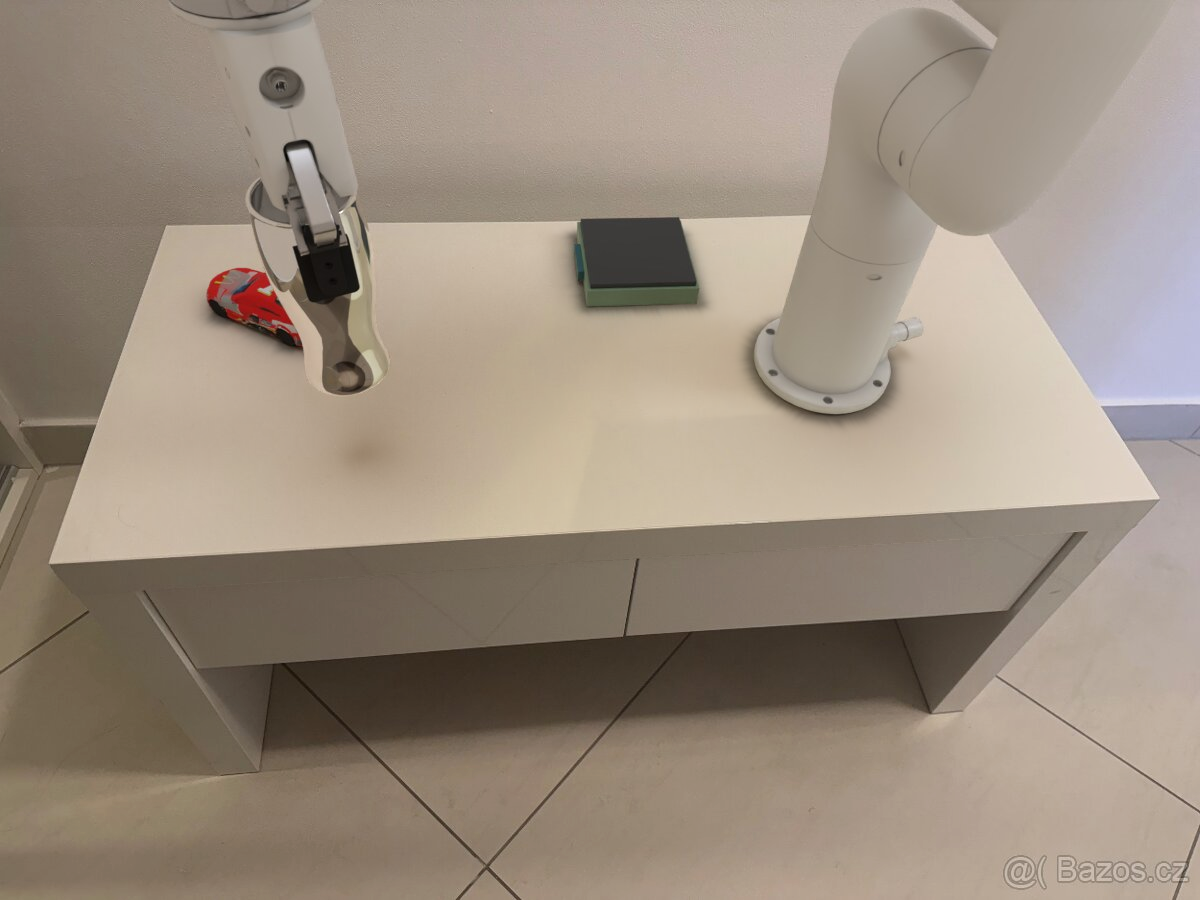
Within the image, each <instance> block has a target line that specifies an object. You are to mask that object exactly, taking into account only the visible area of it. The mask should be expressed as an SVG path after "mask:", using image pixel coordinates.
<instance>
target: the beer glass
mask: <svg viewBox="0 0 1200 900" xmlns="http://www.w3.org/2000/svg"><path fill="white" fill-rule="evenodd" d="M321 183H322V182H321ZM322 186H323V185H322ZM332 190H333V193H334V195H335V200H336V204H337V207H338V211H339V214H340V218H341V221H342V224H343V228H344V231H345V234H347V235H348V238H349V241H350V245H351V250H352V254H353V259H354V263H355V267H356V272H357V276H358V280H359V285H360V288H359V290H358V291H357V292H354V293H350V294H346V295H343V296H339V297H335V298H331V299H327V300H323V301H319V302H310V301H309V299H308V297H307V294H306V291H305V288H304V284H303V281H302V277H301V274H300V271H299V267H298V264H297V260H296V257H295V254H294V250H293V247H292V246H296V245H297V244H296V240H295V237H294V234H293V231H292V228H291V225H290V221H289V218H288V215H287V212H286V211H283V210H280V209H278V208H276V207H275V206H273V204H272V202H271V200H270V198H269V196H268V193H267V191H266V189H265V187H264V185H263V183H262V180H261V178H260V176H258V178H256V179H255V180H254V181H253V182H252V183H251V184H250V186H249V187H248V189H247V190H246V193H245V198H244V199H245V200H244V201H245V206H246V208H247V210H248V216H249V219H250V224H251V229H252V233H253V237H254V241H255V245H256V249H257V252H258V253H257V254H258V255H259V260H260V262H261V265H262V268H263V270H264V272H265V273H266V275H267V278H268V280H269V282H270V284H271V286H272V288H273V290H274V292H275V294H276V296H277V298H278V299H279V301H280V303H281V305H282V306H283V308H284V310H285V311H286V313H287V315H288V316H289V318H290V320H291V321H292V323H293V325H294V327H295V328H296V330H297V332H298V334H299V337H300V339H301V342H302V345H303V346H302V350H303V363H304V365H303V366H304V372H305V377H306V380H307V381H308V382H309V384H310V385H311V386H312V387H313V388H314V389H316V390H317V391H319V392H320V393H323V394H326V395H328V396H334V397H352V396H356V395H361V394H363V393H366V392H367V391H368V392H369V391H370V390H372V389H373V388H375V387H376V386H378V385H379V384H380V383H381V382H382V381H384V379H385V377H387V374H388V373H389V370H390V365H391V358H390V354H389V351H388V349H387V347H386V345H385V342H384V340H383V339H382V337H381V335H380V332H379V329H378V325H377V319H376V264H375V263H376V262H375V260H376V259H375V253H374V248H373V242H372V236H371V232H370V228H369V225H368V220H367V218H366V217H367V216H366V215H365V211H364V210H365V209H364V207H363V203H362V201H361V198H360V195H359V191H358V190H357V192H356V194H355V195H354V196H352V197H350V196H345V197H342V198H341V197H340V196H339V195H338V194H337V193H336V192H335V190H334V189H333V188H332ZM288 193H289V197H295V196H299V192H298V189H297V186H296V185H295V186H290V187H288ZM297 213H298V216H299V219H300V222H301V226H302V229H303V232H304V226H308V220H307V216H306V213H305V210H304V208H302V209H297Z"/></svg>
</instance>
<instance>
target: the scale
mask: <svg viewBox="0 0 1200 900" xmlns="http://www.w3.org/2000/svg"><path fill="white" fill-rule="evenodd" d="M573 256H574V257H573V258H574V265H575V271H576V278H577V281H578V282H581V281H582V284H583V292H584V298H585V305H586V307H618V306H619V307H621V306H655V305H657V306H659V305H691V304H695V305H696V304H697V303H698V298H699V292H700V285H699V281H698V279H697V275H696V270H695V266H694V264H693V260H692V256H691V253H690V249H689V245H688V242H687V237H686V234H685V231H684V227H683V223H682V220H681V219H680V217H679V216H673V217H671V216H669V217H668V216H666V217H665V216H664V217H663V216H661V217H660V216H659V217H606V218H605V217H604V218H603V217H601V218H594V217H593V218H580V221H577V222H576V243H574V244H573Z"/></svg>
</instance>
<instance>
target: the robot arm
mask: <svg viewBox="0 0 1200 900" xmlns="http://www.w3.org/2000/svg"><path fill="white" fill-rule="evenodd" d="M951 1H952V2H953V3H955V4H956V5H957V6H958V7H959V8H960V9H961V10H963V11H964V12H965V13H966V14H968V15H969V16H970V17H971V18H973V19H974V20H975V21H976V22H978V23H979V24H980V25H981V26H983V28H985V29H986V30H988V32H990V33H991V34H992V35H993V36H994V37H995V38H997V39H996V42H995V43H994V46H993V47H992V46H990V45H989V44H988V43H987V42H986V41H985V40H983V38H981V37H980V36H979V35H977V33H975V32H974V31H972V30H971V29H970V28H969V27H968V26H966V25H965V24H963V23H962V22H960V21H959V20H958V19H957V18H955V17H952V16H951V15H948V14H946V13H944V12H942V11H939V10H937V9H933V8H929V7H928V8H927V7H919V6H918V7H907V8H901V9H900V8H899V9H897V10H894V11H892V12H888V13H887V14H885V15H883V16H881V17H879V18H878V19H876V20H874V21H873V22H872V23H871V24H870V25H868V27H866V28H865V29H864V30H863V31H862V32H861V33H860V35H859V36H858V37H857V38H856V39H855V40H854V42H853V43H852V45H851V46H850V48H849V50H848V51H847V53H846V55H845V57H844V58H843V61H842V63H841V65H840V68H839V71H838V74H837V78H836V81H835V84H834V91H833V96H832V102H831V109H830V121H829V132H828V141H827V151H826V155H825V162H824V166H823V170H822V175H821V179H820V182H819V186H818V190H817V194H816V197H815V200H814V204H813V206H812V211H811V214H810V217H809V220H808V224H807V227H806V230H805V234H804V237H803V240H802V245H801V247H800V251H799V255H798V258H797V261H796V265H795V267H794V271H793V275H792V278H791V281H790V285H789V288H788V291H787V295H786V298H785V301H784V306H783V309H782V312H781V315H780V317H777V318H775V319H773V320H772V321H770V322H768V323H767V324H766V326H764V328H762V330H761V331H760V332H759V334H758V336H757V338H756V341H755V345H754V348H753V361H754V367H755V370H756V371H757V373H758V376H759V378H761V380H762V381H763V383H764V384H765V385H766V386H767V387H768V388H769V389H770V390H771V391H772V392H773V393H774V394H776V395H777V396H778V397H780V398H781V399H782V400H784V401H786V402H788V403H790V404H792V405H794V406H795V407H798V408H801V409H803V410H807V411H811V412H815V413H820V414H828V415H843V414H850V413H854V412H859V411H862V410H864V409H866V408H868V407H870V406H872V405H873V404H874V403H876V402H877V401H878V400H879V399H880V398H881V397H882V395H883V394H884V393H885V390H886V389H887V387H888V385H889V382H890V378H891V373H892V371H891V370H892V369H891V362H890V360H889V356H888V353H889V351H890V350H891V349H894V348H896V347H897V345H898V343H900V342H907V341H911V340H913V339H916V338H919V337H921V336H922V335H923V333H924V325H923V322H922V320H921V319H920V318H919V317H916V316H914V317H910V318H907V319H903V320H900V321H897V320H898V318H899V315H900V313H901V311H902V308H903V307H904V303H905V302H906V299H907V297H908V294H909V292H910V289H911V288H912V285H913V283H914V281H915V278H916V276H917V274H918V272H919V269H920V267H921V264H922V263H923V260H924V258H925V256H926V253H927V251H928V249H929V247H930V244H931V243H932V240H933V237H934V235H935V232H936V230H937V227H938V226H939V227H940V228H942V229H944V230H946V231H948V232H949V233H952V234H956V235H959V236H964V237H979V236H980V237H981V236H985V235H989V234H992V233H995V232H998V231H1000V230H1001V229H1004V228H1006V227H1007V226H1010V225H1011V224H1013V223H1014V222H1015V221H1017V220H1018V219H1020V218H1021V217H1022V216H1024V215H1026V213H1027V212H1029V211H1030V210H1031V209H1032V208H1033V207H1034V206H1035V205H1036V204H1037V203H1038V202H1039V201H1040V200H1041V199H1042V198H1043V197H1044V196H1045V194H1046V193H1047V192H1048V191H1049V190H1050V189H1051V187H1053V185H1054V184H1055V182H1056V181H1057V180H1058V178H1059V177H1060V175H1061V174H1062V173H1063V171H1064V170H1065V169H1066V167H1067V166H1068V164H1069V163H1070V161H1071V160H1072V159H1073V157H1074V156H1075V154H1076V153H1077V152H1078V150H1079V149H1080V147H1081V146H1082V144H1083V142H1084V141H1085V139H1086V138H1087V137H1088V135H1089V134H1090V132H1091V131H1092V129H1093V128H1094V126H1095V125H1096V123H1097V122H1098V120H1099V118H1100V117H1101V116H1102V115H1103V112H1104V111H1105V110H1106V108H1107V107H1108V105H1109V104H1110V102H1111V101H1112V99H1113V98H1114V97H1115V95H1116V93H1117V92H1118V90H1119V89H1120V87H1121V86H1122V85H1123V83H1124V81H1125V80H1126V79H1127V77H1128V76H1129V74H1130V73H1131V71H1132V70H1133V68H1134V66H1135V65H1136V64H1137V62H1138V60H1139V59H1140V58H1141V56H1142V55H1143V53H1144V52H1145V51H1146V49H1147V48H1148V46H1149V44H1150V42H1151V41H1152V40H1153V38H1154V36H1155V34H1156V33H1157V32H1158V30H1159V28H1160V27H1161V25H1162V23H1163V22H1164V20H1165V19H1166V17H1167V16H1168V13H1169V11H1170V9H1171V8H1172V6H1173V4H1174V1H1175V0H951ZM167 2H168V4H169V5H168V6H169V7H170V9H171V11H172V12H173V14H174V15H175V16H176V17H177V18H180V19H181V20H182V21H184V22H186V23H188V24H191V25H194V26H197V27H200V28H203V29H204V33H205V35H206V39H207V42H208V45H209V49H210V50H211V54H212V57H213V60H214V63H215V66H216V69H217V72H218V75H219V79H220V81H221V84H222V86H223V90H224V93H225V96H226V98H227V101H228V104H229V106H230V107H229V108H230V109H231V110H230V111H231V112H232V115H233V118H234V120H235V122H236V125H237V128H238V130H239V133H240V135H241V138H242V140H243V142H244V144H245V147H246V149H247V152H248V153H249V156H250V158H251V160H252V162H253V165H254V167H255V169H256V171H257V174H258V177H260V178H261V180H262V183H263V185H264V187H265V189H266V191H267V193H268V196H269V198H270V200H271V202H272V204H273V206H275V207H276V208H278V209H280V210H283V211H286V212H287V215H288V218H289V221H290V225H291V228H292V231H293V234H294V237H295V240H296V244H297V245H296V246H292V247H293V250H294V254H295V257H296V260H297V264H298V267H299V271H300V274H301V277H302V281H303V284H304V288H305V291H306V294H307V297H308V299H309V301H310V302H319V301H323V300H327V299H331V298H335V297H339V296H343V295H346V294H350V293H354V292H357V291H358V290H359V288H360V285H359V280H358V276H357V272H356V267H355V263H354V259H353V254H352V250H351V245H350V241H349V238H348V235H347V234H345V231H344V228H343V224H342V221H341V218H340V214H339V211H338V207H337V204H336V200H335V195H334V193H333V190H332V188H333V189H334V190H335V192H336V193H337V194H338V195H339V196H340V197H341V198H342V197H345V196H350V197H352V196H354V195H355V194H356V192H357V191H358V189H359V184H358V183H359V182H358V179H357V176H356V173H355V168H354V165H353V160H352V157H351V153H350V149H349V144H348V141H347V136H346V131H345V127H344V124H343V120H342V115H341V112H340V107H339V104H338V99H337V95H336V91H335V87H334V83H333V78H332V76H331V72H330V68H329V64H328V60H327V57H326V53H325V50H324V47H323V43H322V39H321V36H320V32H319V29H318V26H317V24H316V20H315V17H314V14H313V12H314V11H315V10H317V9H318V8H319V7H320V6H321V5H322V4H323V2H324V0H167ZM321 182H322V183H321ZM295 185H296V186H297V189H298V192H299V196H295V197H289V193H288V187H290V186H295ZM322 185H323V186H322ZM302 208H304V210H305V213H306V216H307V220H308V226H304V232H303V229H302V226H301V222H300V219H299V216H298V213H297V209H302Z"/></svg>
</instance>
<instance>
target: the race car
mask: <svg viewBox="0 0 1200 900" xmlns="http://www.w3.org/2000/svg"><path fill="white" fill-rule="evenodd" d="M205 296H206V302H207V304H208V306H209V307H210V308H211V310H212V311H213V312H214V313H215V314H217V315H218V316H220V317H222V318H226V317H228V318H229V319H231V320H234V321H236V322H238V323H241V324H243V325H245V326H248V327H250V328H253V329H255V330H258V331H260V332H262V333H264V334H267V335H269V336H271V337H274V338H276V339H277V338H279V340H280V341H281V342H283V343H284V344H285V345H287V346H294V345H295V346H298V347H303V345H302V342H301V339H300V337H299V334H298V332H297V330H296V328H295V327H294V325H293V323H292V321H291V320H290V318H289V316H288V315H287V313H286V311H285V310H284V308H283V306H282V305H281V303H280V301H279V299H278V298H277V296H276V294H275V292H274V290H273V288H272V286H271V284H270V282H269V280H268V278H267V275H266V273H265V271H263V272H262V271H260V270H256V269H253V268H249V267H234V268H230V269H228V270H224V271H222V272H220V273H218V274H216V275H215V276H214V277H212V279H211V280H210V282H209V284H208V286H207V289H206V295H205Z"/></svg>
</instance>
